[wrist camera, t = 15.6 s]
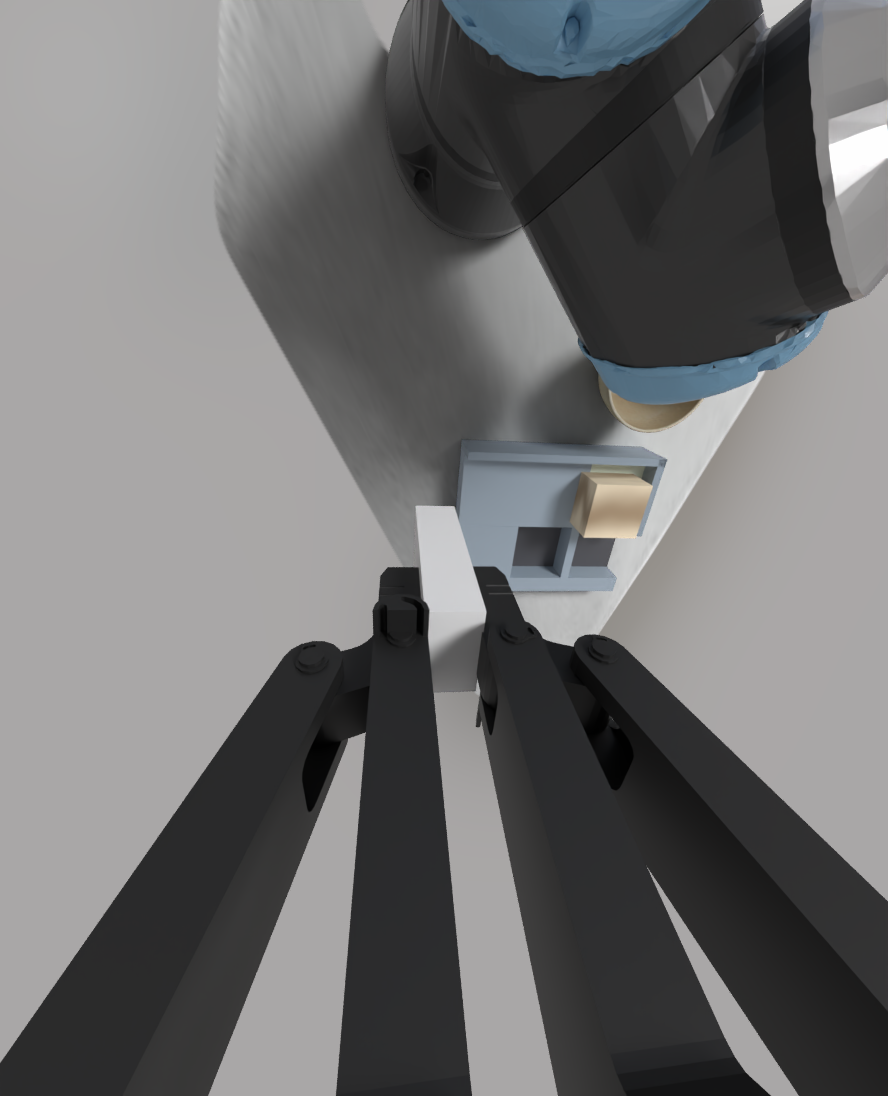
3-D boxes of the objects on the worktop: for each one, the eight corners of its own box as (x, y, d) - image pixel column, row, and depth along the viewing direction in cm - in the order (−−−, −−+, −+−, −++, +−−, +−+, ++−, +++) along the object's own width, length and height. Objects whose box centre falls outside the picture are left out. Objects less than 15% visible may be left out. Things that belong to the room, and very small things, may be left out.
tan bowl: (627, 434, 45) (664, 451, 39) (558, 389, 42) (586, 400, 36) (691, 347, 41) (743, 351, 35) (620, 291, 38) (663, 284, 32)
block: (581, 471, 43) (597, 484, 40) (632, 473, 44) (653, 486, 41) (569, 521, 46) (583, 537, 43) (618, 522, 47) (635, 538, 44)
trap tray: (461, 439, 43) (468, 451, 39) (641, 446, 46) (667, 459, 41) (450, 578, 52) (454, 600, 48) (602, 578, 54) (619, 600, 50)
